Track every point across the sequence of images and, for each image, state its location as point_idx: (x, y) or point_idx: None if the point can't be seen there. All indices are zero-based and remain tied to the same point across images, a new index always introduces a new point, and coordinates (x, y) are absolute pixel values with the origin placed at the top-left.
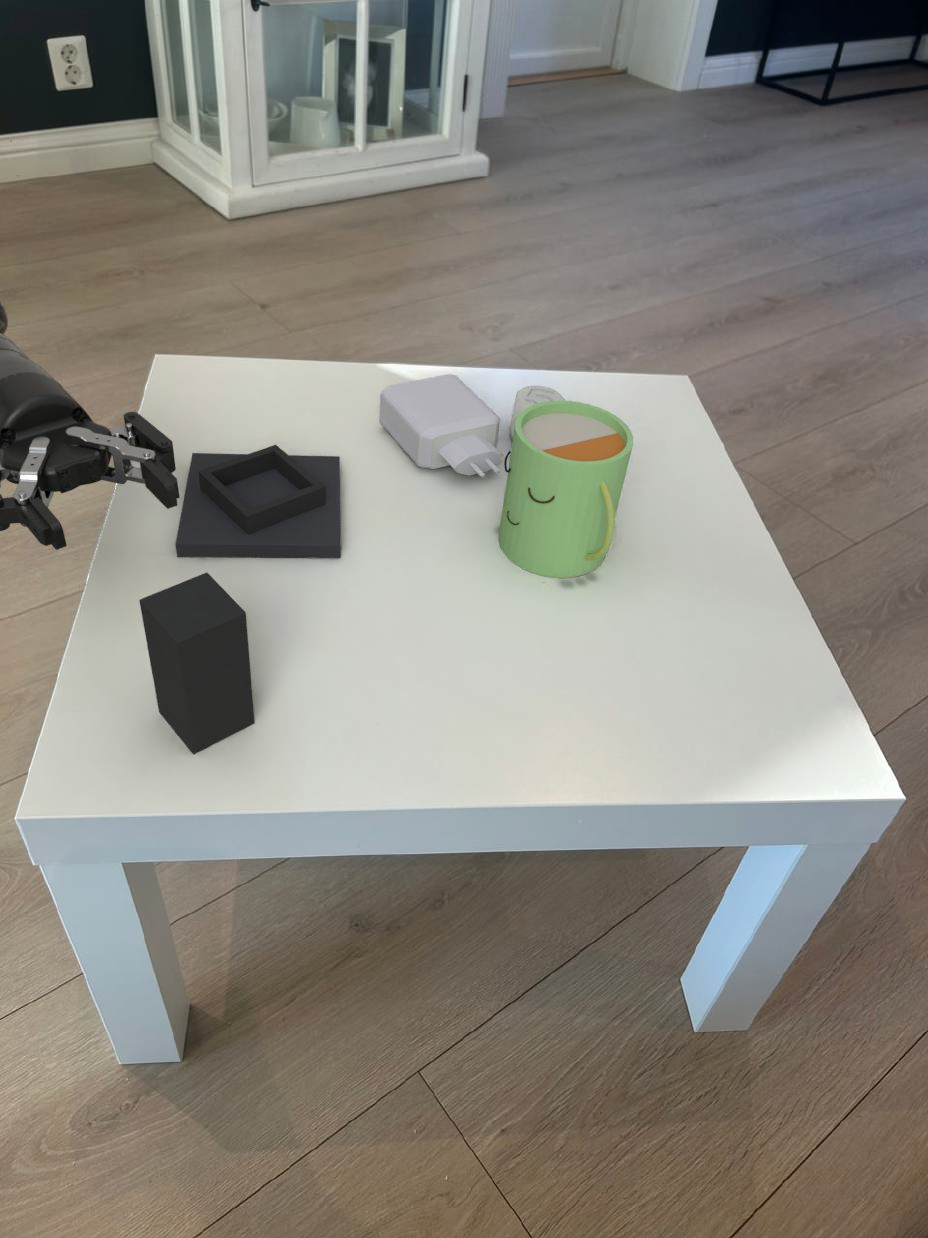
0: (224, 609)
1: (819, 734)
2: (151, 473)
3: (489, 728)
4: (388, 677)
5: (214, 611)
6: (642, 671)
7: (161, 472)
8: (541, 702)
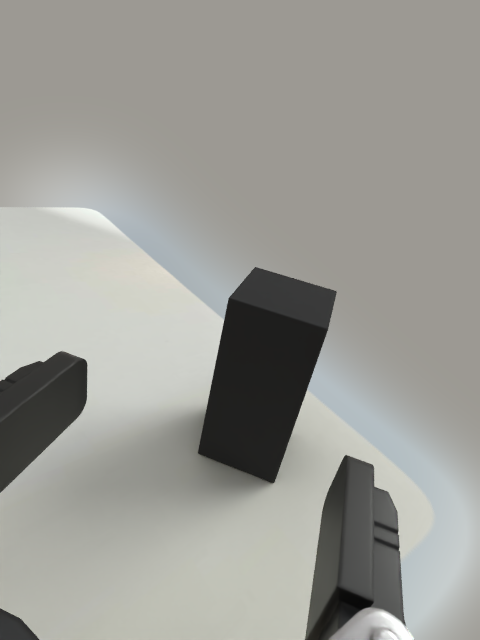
0: (267, 276)
1: (62, 214)
2: (29, 402)
3: (132, 297)
4: (109, 346)
5: (276, 281)
6: (34, 251)
7: (23, 381)
8: (91, 281)
